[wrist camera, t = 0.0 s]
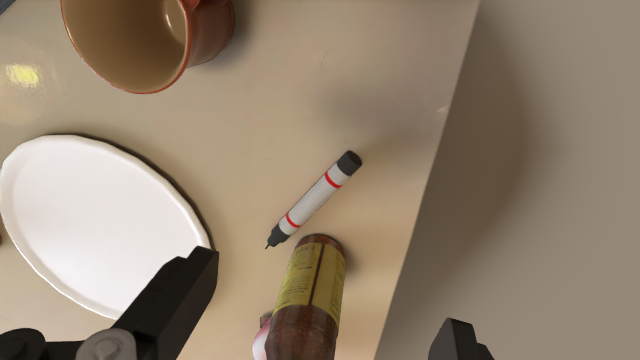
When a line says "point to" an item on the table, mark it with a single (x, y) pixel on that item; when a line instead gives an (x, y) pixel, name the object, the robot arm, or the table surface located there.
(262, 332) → the onion
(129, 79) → the mug
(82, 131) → the table surface
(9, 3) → the blue cubby shelf
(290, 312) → the sauce bottle
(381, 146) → the table surface
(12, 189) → the plate
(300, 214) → the marker
